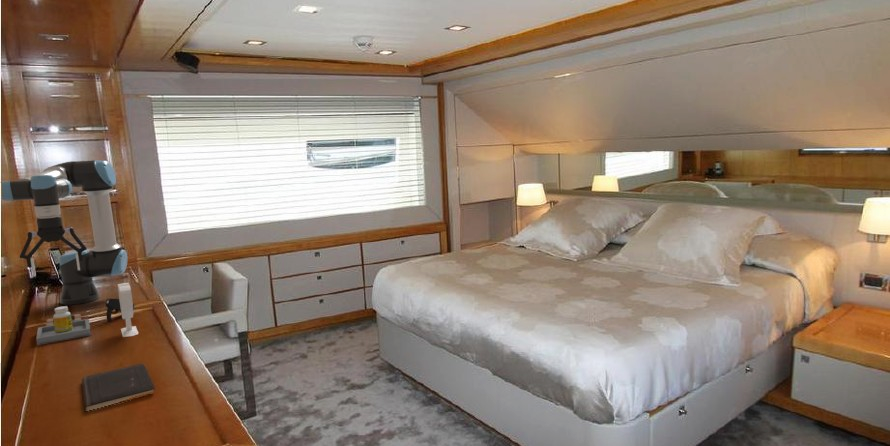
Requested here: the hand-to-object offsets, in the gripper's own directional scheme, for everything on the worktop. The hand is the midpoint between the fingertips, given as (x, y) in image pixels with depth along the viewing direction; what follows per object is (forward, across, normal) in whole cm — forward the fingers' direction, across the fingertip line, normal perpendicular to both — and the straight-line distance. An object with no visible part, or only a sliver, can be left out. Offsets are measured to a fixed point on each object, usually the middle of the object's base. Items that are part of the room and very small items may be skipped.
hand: (57, 272), depth 201 cm
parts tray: (+23, 0, -5) cm, 23 cm away
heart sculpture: (+23, +20, -18) cm, 35 cm away
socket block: (+23, 0, +9) cm, 25 cm away
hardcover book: (+22, +11, -75) cm, 79 cm away
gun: (+24, +19, +8) cm, 31 cm away
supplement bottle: (+22, 0, -5) cm, 23 cm away
